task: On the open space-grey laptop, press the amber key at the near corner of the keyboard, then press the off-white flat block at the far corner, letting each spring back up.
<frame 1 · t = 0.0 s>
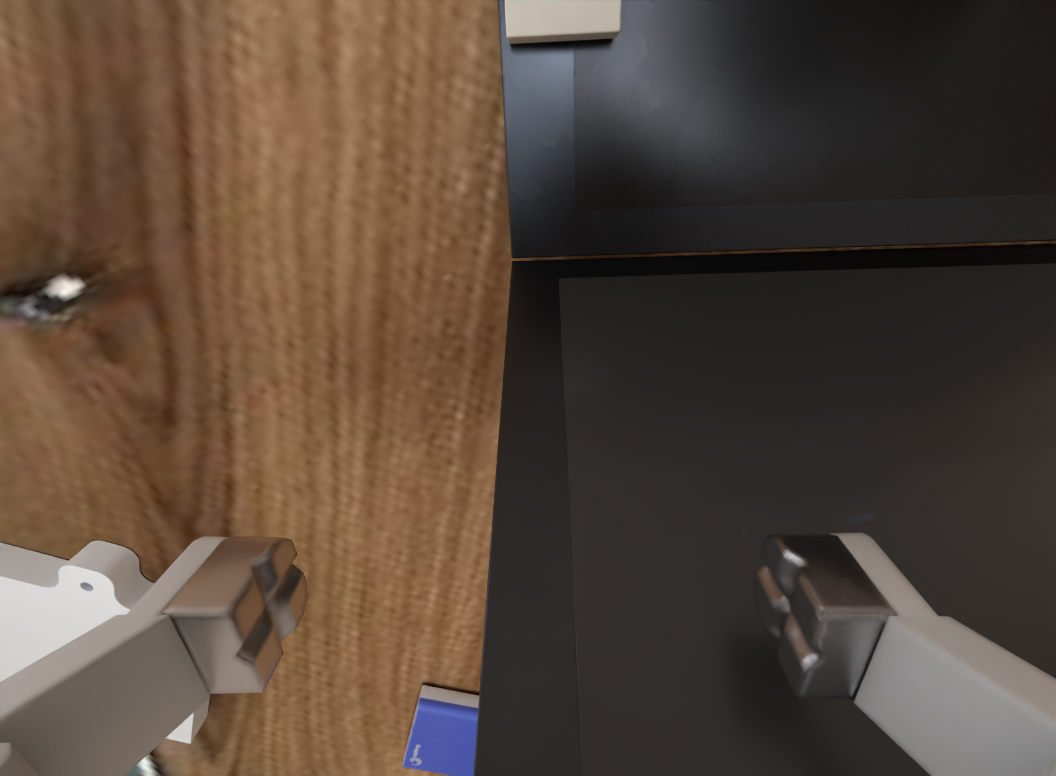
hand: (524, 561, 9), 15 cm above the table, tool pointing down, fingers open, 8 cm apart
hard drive: (497, 728, 36), on the table
mounting plate: (117, 635, 33), on the table
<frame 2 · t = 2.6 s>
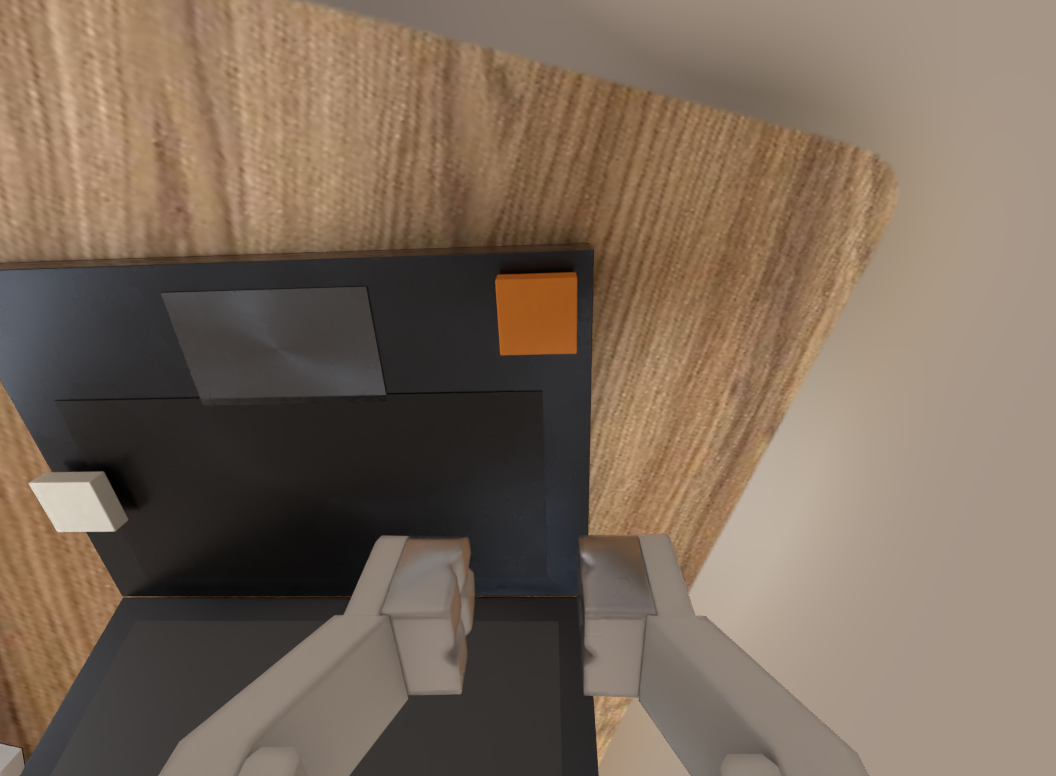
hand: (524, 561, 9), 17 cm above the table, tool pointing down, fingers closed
off-white flat block: (80, 502, 27), point 3 cm above the table, slide at 0.0 cm
key amber: (537, 314, 21), point 3 cm above the table, slide at 0.0 cm
laptop: (324, 440, 28), on the table
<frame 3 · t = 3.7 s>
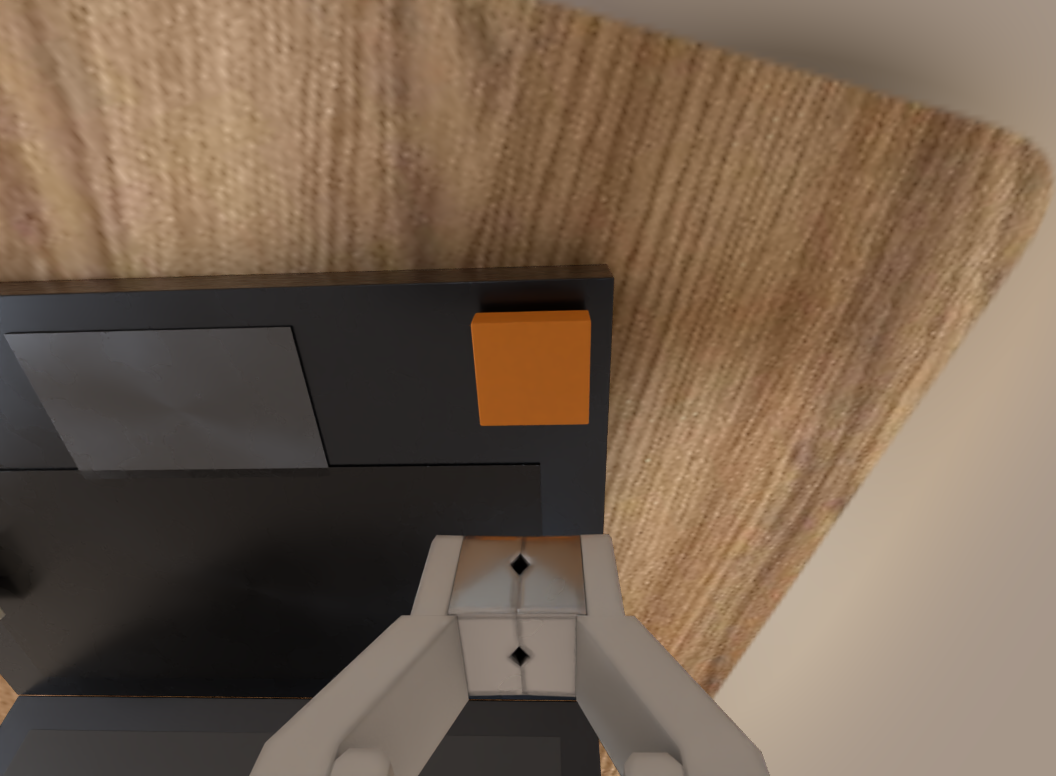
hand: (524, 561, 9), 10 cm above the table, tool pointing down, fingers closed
key amber: (532, 369, 15), point 3 cm above the table, slide at 0.0 cm
laptop: (257, 512, 22), on the table
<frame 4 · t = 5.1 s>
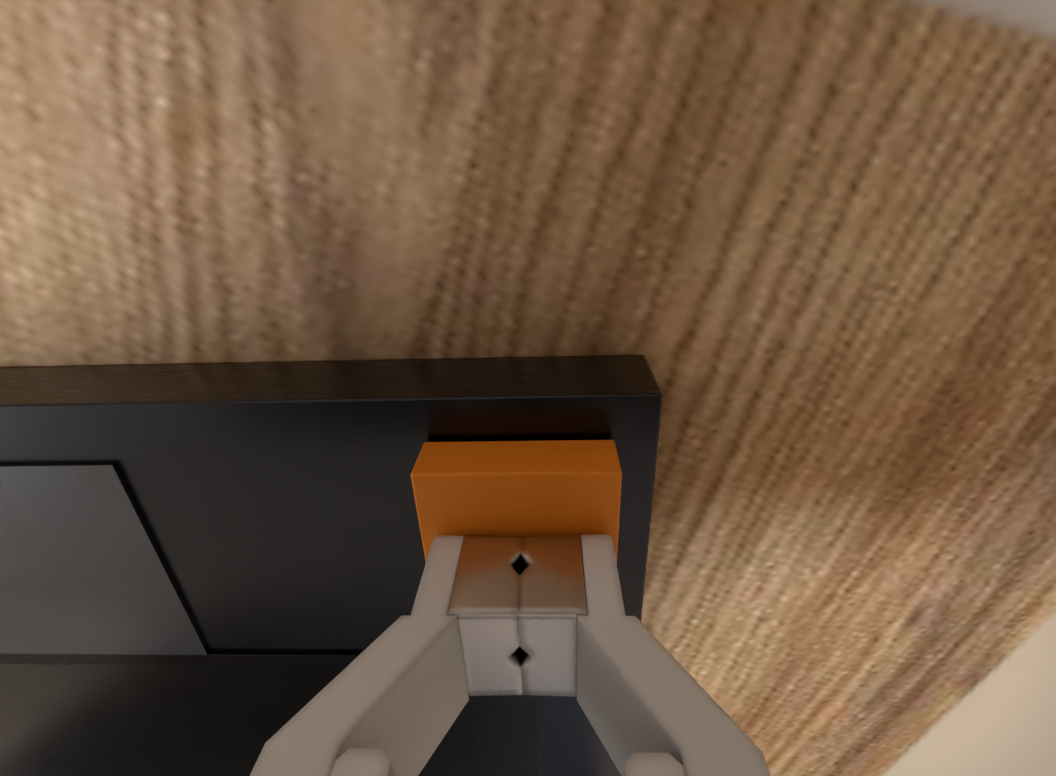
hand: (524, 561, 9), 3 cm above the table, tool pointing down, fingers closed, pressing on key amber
key amber: (520, 533, 9), point 2 cm above the table, slide at -0.4 cm, touching gripper
laptop: (135, 676, 15), on the table
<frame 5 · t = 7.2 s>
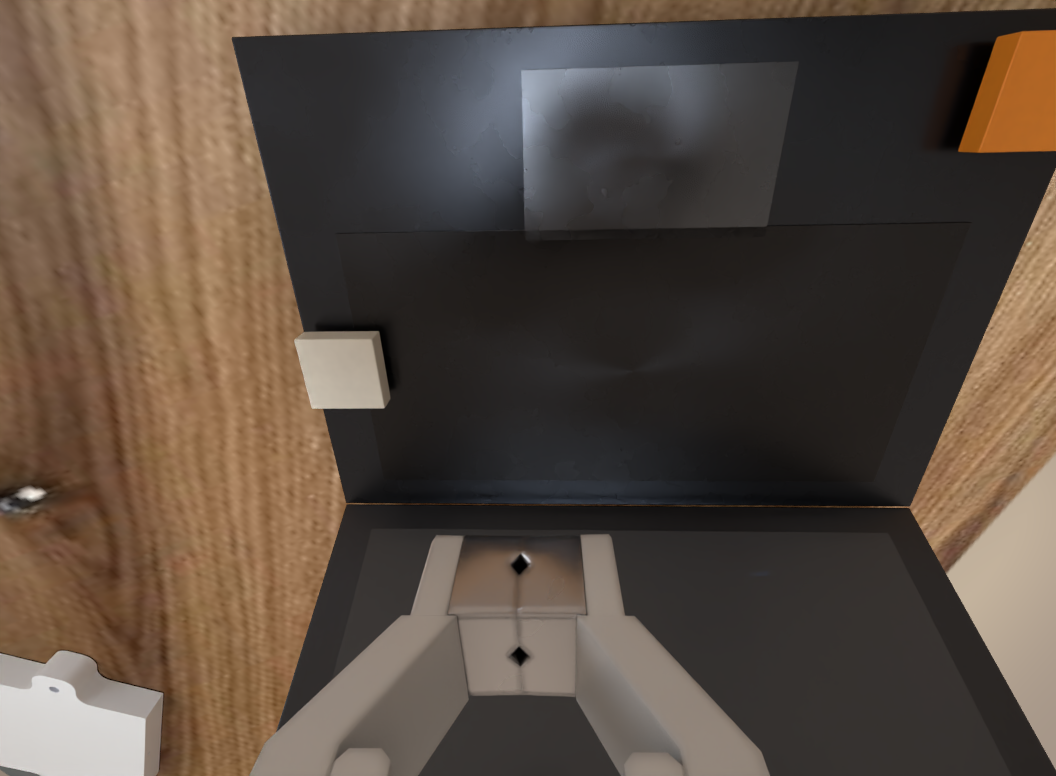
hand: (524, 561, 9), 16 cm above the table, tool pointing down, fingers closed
laptop screen: (647, 748, 19), point 12 cm above the table, hinge at 110.0°
off-white flat block: (344, 370, 22), point 3 cm above the table, slide at 0.0 cm
mounting plate: (82, 713, 41), on the table
key amber: (1040, 94, 16), point 3 cm above the table, slide at 0.0 cm
laptop: (630, 305, 23), on the table
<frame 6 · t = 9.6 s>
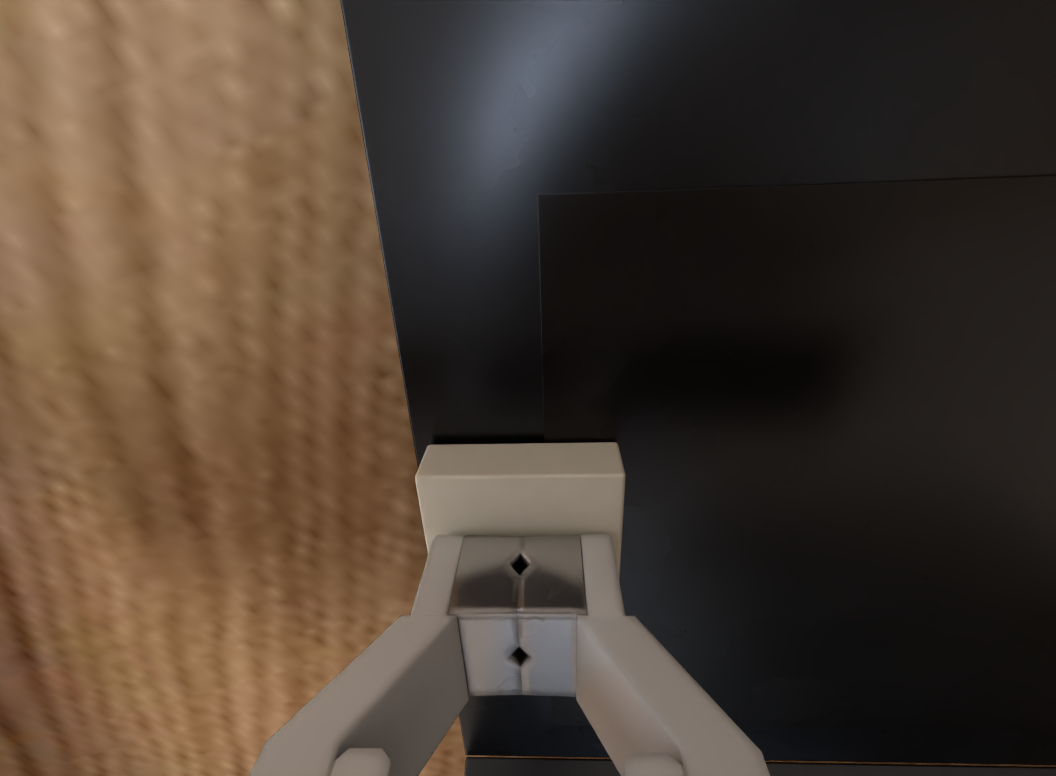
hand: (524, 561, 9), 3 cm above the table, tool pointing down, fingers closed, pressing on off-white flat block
off-white flat block: (524, 535, 9), point 2 cm above the table, slide at -0.4 cm, touching gripper
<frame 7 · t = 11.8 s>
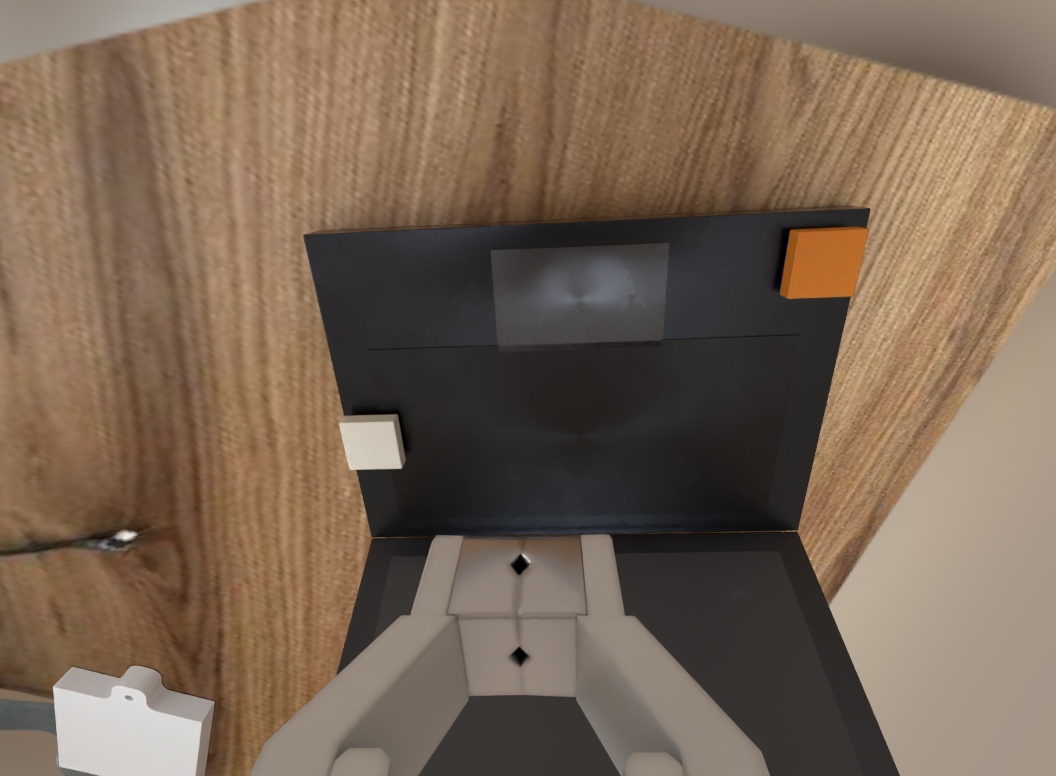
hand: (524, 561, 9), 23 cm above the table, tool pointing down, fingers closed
laptop screen: (592, 709, 27), point 12 cm above the table, hinge at 110.0°
off-white flat block: (373, 442, 31), point 3 cm above the table, slide at 0.1 cm
mounting plate: (144, 722, 48), on the table
key amber: (822, 263, 25), point 3 cm above the table, slide at 0.0 cm
laptop: (578, 388, 32), on the table
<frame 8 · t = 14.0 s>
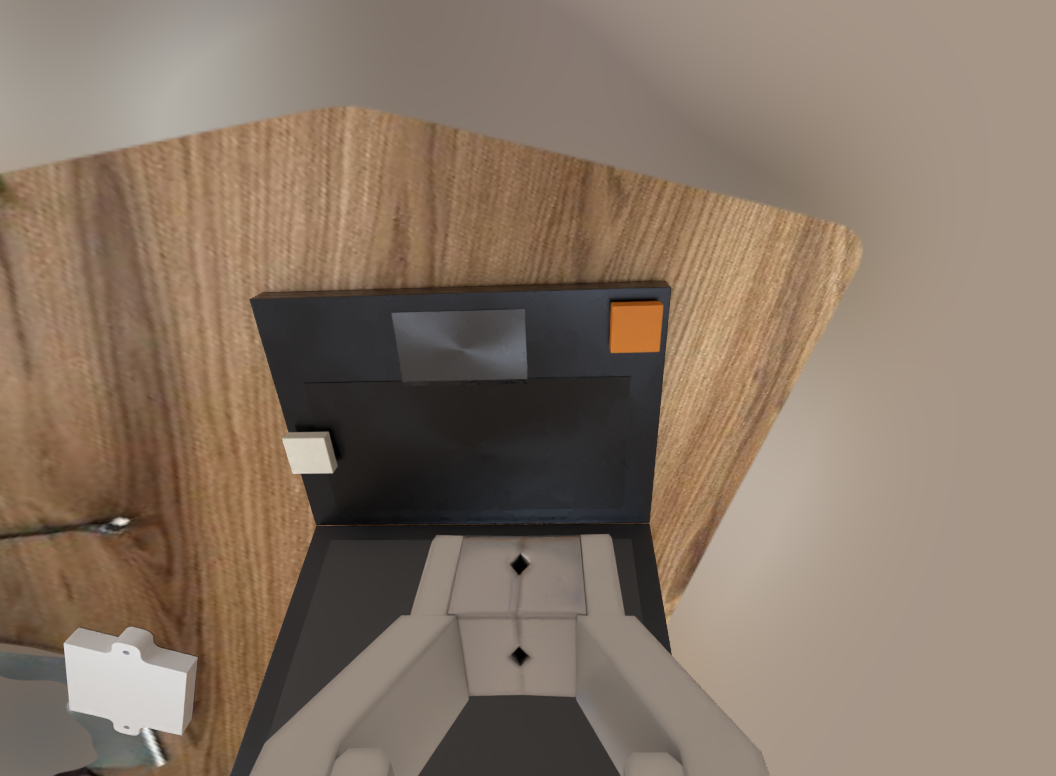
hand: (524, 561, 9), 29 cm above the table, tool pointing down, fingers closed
laptop screen: (468, 654, 37), point 12 cm above the table, hinge at 110.0°
off-white flat block: (310, 452, 40), point 3 cm above the table, slide at 0.1 cm
mounting plate: (140, 674, 58), on the table
key amber: (635, 327, 34), point 3 cm above the table, slide at 0.0 cm
laptop: (472, 411, 41), on the table
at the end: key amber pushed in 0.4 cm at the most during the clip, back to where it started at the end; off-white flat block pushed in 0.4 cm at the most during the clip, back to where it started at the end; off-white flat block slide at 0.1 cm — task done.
